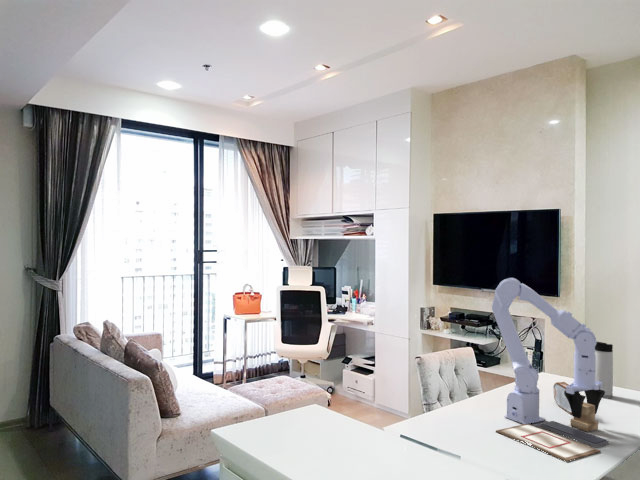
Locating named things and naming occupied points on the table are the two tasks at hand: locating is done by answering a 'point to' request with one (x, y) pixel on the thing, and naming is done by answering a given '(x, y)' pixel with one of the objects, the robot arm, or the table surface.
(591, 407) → the stamp
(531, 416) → the robot arm
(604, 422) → the table surface
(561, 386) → the tin
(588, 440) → the ink pad
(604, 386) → the travel mug
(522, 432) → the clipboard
